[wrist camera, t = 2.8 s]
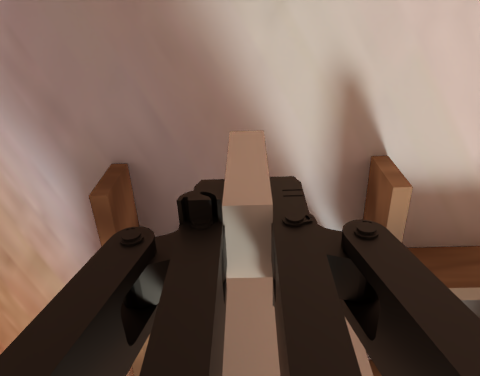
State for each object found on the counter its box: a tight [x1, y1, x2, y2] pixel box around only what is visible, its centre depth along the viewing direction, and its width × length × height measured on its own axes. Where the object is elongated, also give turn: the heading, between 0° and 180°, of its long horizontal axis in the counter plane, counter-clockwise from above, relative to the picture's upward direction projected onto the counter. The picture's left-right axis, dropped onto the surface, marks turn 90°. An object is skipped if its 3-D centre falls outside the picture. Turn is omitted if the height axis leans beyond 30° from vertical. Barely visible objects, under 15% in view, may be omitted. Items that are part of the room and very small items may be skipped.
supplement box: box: [222, 273, 373, 376], centre depth 22 cm, size 9×9×15 cm
